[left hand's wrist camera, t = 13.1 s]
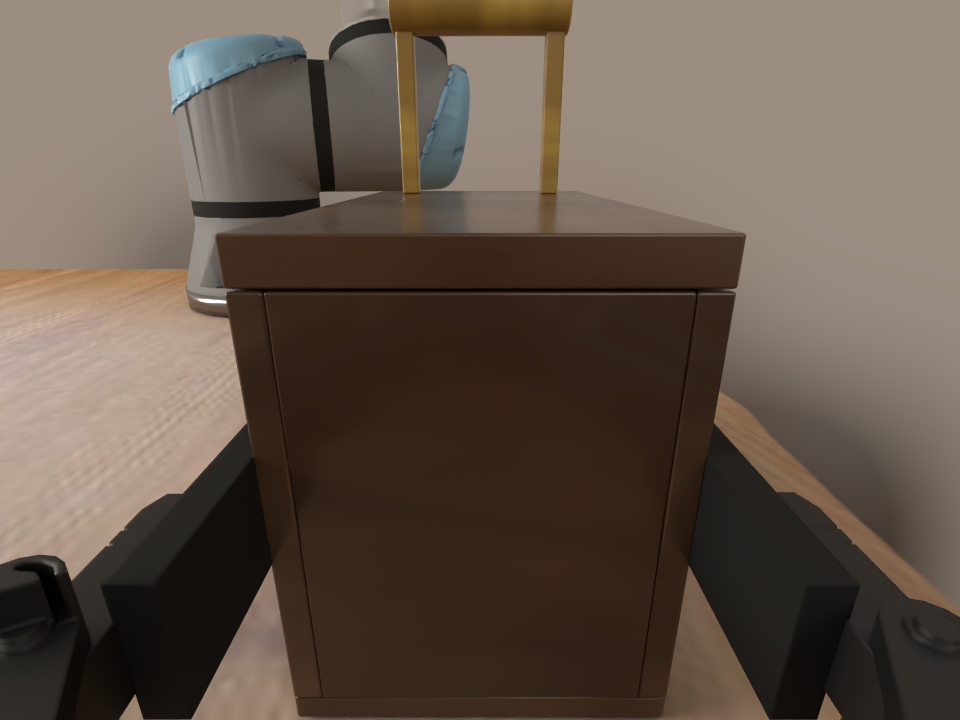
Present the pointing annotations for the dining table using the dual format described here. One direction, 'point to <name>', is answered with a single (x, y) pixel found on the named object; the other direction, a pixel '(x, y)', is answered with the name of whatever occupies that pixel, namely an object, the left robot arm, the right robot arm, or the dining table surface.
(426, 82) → the right robot arm
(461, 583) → the chest
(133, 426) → the dining table surface
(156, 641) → the left robot arm
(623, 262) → the lid
